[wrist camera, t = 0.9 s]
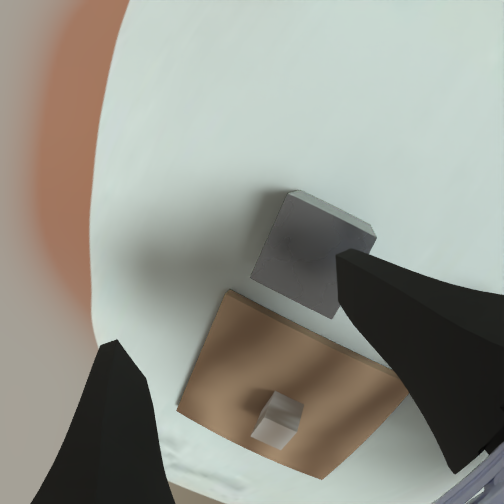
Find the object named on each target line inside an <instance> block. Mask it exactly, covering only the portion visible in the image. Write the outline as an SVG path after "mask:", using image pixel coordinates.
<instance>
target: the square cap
mask: <svg viewBox="0 0 504 504" xmlns="http://www.w3.org/2000/svg"><path fill="white" fill-rule="evenodd" d="M376 239H377V237H376V235H375V233H374V231H373V229H372V227H371V225H370V224H368V223H366V222H364V221H362V220H360V219H359V218H357V217H355V216H353V215H351V214H349V213H347V212H345V211H343V210H341V209H339V208H337V207H335V206H333V205H331V204H329V203H327V202H324V201H322V200H320V199H318V198H316V197H314V196H312V195H310V194H308V193H306V192H304V191H301V190H298V191H294V192H290V193H287V196H286V198H285V200H284V202H283V205H282V207H281V209H280V211H279V214H278V216H277V218H276V220H275V223H274V225H273V227H272V229H271V232H270V234H269V236H268V238H267V241H266V243H265V245H264V247H263V250H262V252H261V254H260V256H259V259H258V261H257V263H256V265H255V267H254V270H253V272H252V274H251V276H250V278H251V279H253V280H255V281H257V282H259V283H261V284H263V285H265V286H267V287H269V288H270V289H272V290H274V291H276V292H278V293H280V294H282V295H284V296H286V297H288V298H290V299H292V300H294V301H296V302H298V303H300V304H302V305H304V306H306V307H308V308H310V309H312V310H314V311H316V312H318V313H320V314H322V315H324V316H326V317H328V318H330V319H332V318H333V317H334V315H335V313H336V312H337V310H338V308H339V307H340V304H339V302H338V291H337V272H336V257H335V255H336V254H338V253H341V252H343V251H345V250H348V249H350V248H352V249H355V250H358V251H361V252H364V253H367V254H369V252H370V250H371V248H372V247H373V245H374V243H375V241H376Z"/></svg>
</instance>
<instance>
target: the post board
mask: <svg viewBox="0 0 504 504" xmlns="http://www.w3.org/2000/svg"><path fill="white" fill-rule="evenodd" d="M408 394H409V392H408V390H407V389H406V387H405V386H404V384H403V383H402V381H401V380H400V378H399V377H398V376H397V375H396V373H395V372H394V371H393V370H391V369H389V368H387V367H385V366H383V365H381V364H379V363H376V362H374V361H372V360H370V359H368V358H366V357H364V356H361V355H359V354H357V353H355V352H353V351H351V350H349V349H347V348H345V347H343V346H341V345H339V344H336V343H334V342H332V341H330V340H328V339H326V338H324V337H322V336H320V335H318V334H316V333H314V332H312V331H310V330H308V329H306V328H304V327H302V326H300V325H298V324H296V323H294V322H292V321H290V320H288V319H286V318H284V317H282V316H280V315H278V314H276V313H275V312H273V311H271V310H269V309H267V308H265V307H263V306H261V305H259V304H257V303H255V302H253V301H251V300H250V299H248V298H246V297H244V296H242V295H240V294H238V293H236V292H234V291H233V290H231V289H229V290H228V291H227V292H226V293H225V295H224V298H223V300H222V302H221V305H220V307H219V310H218V312H217V314H216V317H215V319H214V321H213V324H212V326H211V329H210V331H209V333H208V336H207V338H206V340H205V343H204V345H203V348H202V350H201V352H200V355H199V357H198V360H197V362H196V364H195V367H194V369H193V372H192V374H191V376H190V379H189V381H188V384H187V386H186V388H185V391H184V393H183V396H182V398H181V401H180V403H179V405H178V408H177V410H176V411H177V412H179V413H181V414H183V415H184V416H186V417H188V418H189V419H191V420H193V421H195V422H196V423H198V424H200V425H202V426H203V427H205V428H207V429H209V430H211V431H213V432H215V433H216V434H218V435H220V436H222V437H224V438H226V439H228V440H230V441H232V442H234V443H236V444H238V445H240V446H242V447H244V448H246V449H248V450H250V451H253V452H255V453H257V454H259V455H261V456H264V457H266V458H268V459H270V460H273V461H275V462H277V463H280V464H282V465H284V466H287V467H289V468H292V469H294V470H297V471H299V472H302V473H305V474H307V475H310V476H313V477H315V478H318V479H321V480H322V479H324V478H325V477H326V476H327V475H328V474H329V473H331V472H332V471H333V470H334V469H335V468H336V467H337V466H339V465H340V464H341V463H342V462H343V461H344V460H345V459H346V458H347V457H349V456H350V455H351V454H352V453H353V452H354V451H355V450H356V449H357V448H358V447H359V446H360V445H361V444H362V443H363V442H364V441H365V440H366V439H367V438H368V437H369V436H370V435H371V434H372V433H373V432H374V431H375V430H376V429H377V428H378V427H379V426H380V425H381V424H382V423H383V422H384V421H385V420H386V419H387V418H388V416H389V415H390V414H391V413H392V412H393V411H394V410H395V409H396V408H397V406H398V405H399V404H400V403H401V402H402V401H403V400H404V398H405V397H406V396H407V395H408Z"/></svg>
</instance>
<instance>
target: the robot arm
mask: <svg viewBox="0 0 504 504" xmlns="http://www.w3.org/2000/svg"><path fill="white" fill-rule="evenodd" d="M335 257H336V272H337V291H338V302H339V304H340V305H341V307H342V308H343V310H344V311H345V313H346V315H347V316H348V317H349V319H350V320H351V322H352V323H353V325H354V326H355V327H356V328H357V329H358V331H359V332H360V333H361V334H362V335H363V336H364V337H365V339H366V340H367V341H368V342H369V343H370V344H371V345H372V347H373V348H374V349H375V350H376V351H377V352H378V353H379V354H380V356H381V357H382V358H383V359H384V360H385V361H386V362H387V364H388V365H389V366H390V367H391V368H392V369H393V371H394V372H395V373H396V375H397V376H398V377H399V378H400V380H401V381H402V383H403V384H404V386H405V387H406V389H407V390H408V392H409V393H410V395H411V396H412V398H413V400H414V401H415V403H416V404H417V406H418V408H419V409H420V411H421V413H422V414H423V416H424V418H425V419H426V421H427V423H428V425H429V427H430V429H431V430H432V432H433V434H434V436H435V438H436V440H437V442H438V444H439V446H440V449H441V451H442V453H443V455H444V457H445V460H446V462H447V464H448V467H449V468H450V469H451V471H452V472H453V473H454V474H457V473H458V472H459V471H460V470H462V469H463V468H464V467H465V466H467V465H468V464H469V463H470V462H471V461H473V460H474V459H475V458H476V457H477V456H478V455H479V454H481V453H482V452H483V451H484V450H486V452H487V453H488V454H489V456H488V457H487V458H486V459H485V460H484V461H483V462H482V463H480V464H479V465H478V466H477V467H476V468H475V469H474V470H473V471H472V472H470V473H469V474H468V475H467V476H466V477H465V478H463V479H462V480H461V481H460V482H459V483H457V484H456V485H455V486H454V487H453V488H451V489H450V490H449V491H448V492H446V493H445V494H444V495H442V496H441V497H440V498H438V499H437V500H436V501H434V502H433V503H432V504H465V503H466V502H467V501H468V500H469V499H471V498H472V497H473V496H474V495H475V494H476V493H477V492H479V491H480V490H481V489H482V488H483V487H484V492H482V493H481V494H479V495H478V496H476V497H474V498H473V499H471V500H470V501H469V502H467V503H466V504H504V295H500V294H494V293H489V292H483V291H478V290H473V289H469V288H465V287H461V286H457V285H453V284H450V283H446V282H443V281H440V280H437V279H434V278H431V277H427V276H424V275H422V274H419V273H416V272H413V271H411V270H408V269H405V268H403V267H400V266H397V265H395V264H392V263H390V262H387V261H385V260H382V259H380V258H377V257H374V256H372V255H369V254H367V253H364V252H361V251H358V250H355V249H352V248H350V249H348V250H345V251H343V252H341V253H338V254H336V255H335ZM31 504H175V501H174V499H173V496H172V493H171V490H170V487H169V484H168V481H167V478H166V474H165V471H164V466H163V461H162V456H161V451H160V445H159V439H158V433H157V427H156V420H155V414H154V407H153V403H152V399H151V395H150V391H149V388H148V384H147V380H146V377H145V376H144V375H143V374H142V372H141V371H140V370H139V368H138V367H137V366H136V364H135V363H134V362H133V360H132V359H131V358H130V356H129V355H128V354H127V352H126V351H125V350H124V348H123V347H122V345H121V344H120V343H119V341H118V340H114V341H111V342H108V343H105V344H103V345H100V348H99V350H98V353H97V355H96V358H95V360H94V363H93V366H92V369H91V372H90V374H89V377H88V379H87V382H86V385H85V388H84V390H83V393H82V396H81V399H80V402H79V404H78V407H77V409H76V412H75V414H74V417H73V419H72V422H71V425H70V427H69V430H68V432H67V435H66V437H65V439H64V442H63V444H62V446H61V448H60V450H59V453H58V455H57V457H56V459H55V461H54V463H53V465H52V467H51V469H50V471H49V472H48V474H47V476H46V478H45V480H44V482H43V483H42V486H41V487H40V489H39V491H38V492H37V494H36V496H35V497H34V499H33V501H32V502H31Z"/></svg>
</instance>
